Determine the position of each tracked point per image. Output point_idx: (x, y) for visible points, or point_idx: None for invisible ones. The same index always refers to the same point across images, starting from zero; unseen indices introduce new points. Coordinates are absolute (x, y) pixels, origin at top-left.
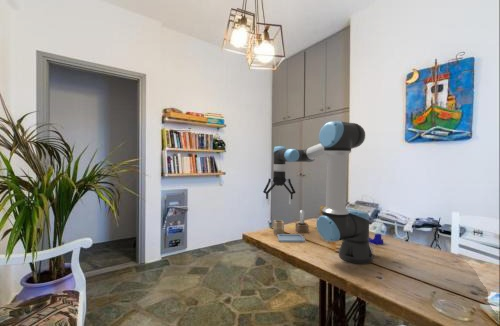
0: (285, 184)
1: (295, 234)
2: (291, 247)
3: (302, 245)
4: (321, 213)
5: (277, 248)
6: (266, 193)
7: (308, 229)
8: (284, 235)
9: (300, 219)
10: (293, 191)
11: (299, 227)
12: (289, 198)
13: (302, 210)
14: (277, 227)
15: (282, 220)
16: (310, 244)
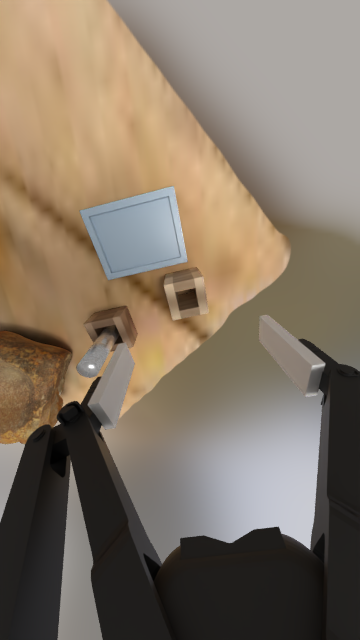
0: (95, 595)
1: (126, 273)
2: (120, 124)
3: (84, 166)
4: (37, 397)
5: (172, 90)
6: (351, 368)
7: (89, 318)
8: (162, 261)
9: (107, 340)
10: (43, 444)
11: (115, 314)
12: (115, 377)
13: (85, 369)
14: (188, 275)
15: (173, 316)
16: (60, 188)
